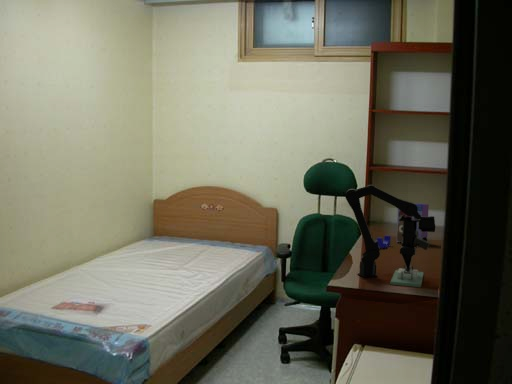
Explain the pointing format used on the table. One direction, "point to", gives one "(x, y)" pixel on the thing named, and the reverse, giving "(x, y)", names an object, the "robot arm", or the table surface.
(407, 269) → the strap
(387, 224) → the table surface
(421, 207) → the cereal box
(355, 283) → the table surface
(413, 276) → the heat sink
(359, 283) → the table surface
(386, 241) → the cable clip
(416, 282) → the circuit board
